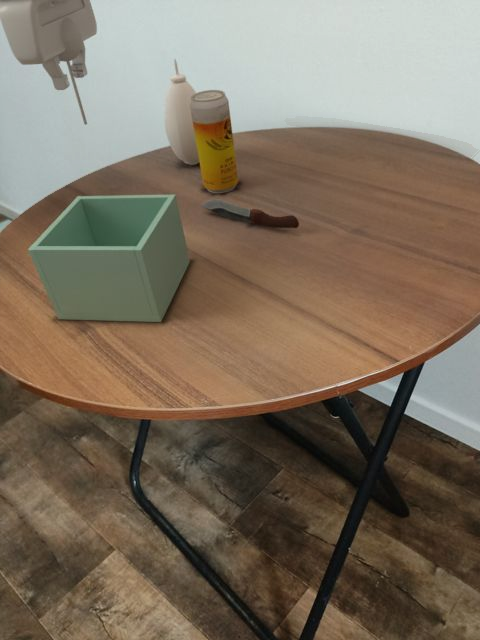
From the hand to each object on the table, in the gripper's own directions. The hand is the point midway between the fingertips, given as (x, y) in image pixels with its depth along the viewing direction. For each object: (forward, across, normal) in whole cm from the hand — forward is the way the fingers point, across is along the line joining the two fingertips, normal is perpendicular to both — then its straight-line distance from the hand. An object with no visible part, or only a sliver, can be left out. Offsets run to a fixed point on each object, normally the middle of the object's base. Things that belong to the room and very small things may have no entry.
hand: (72, 82), depth 80 cm
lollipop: (+6, 0, 0) cm, 6 cm away
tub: (+18, +28, +14) cm, 36 cm away
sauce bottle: (+18, -14, +12) cm, 26 cm away
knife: (+18, +10, +28) cm, 35 cm away
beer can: (+18, -3, +20) cm, 28 cm away
